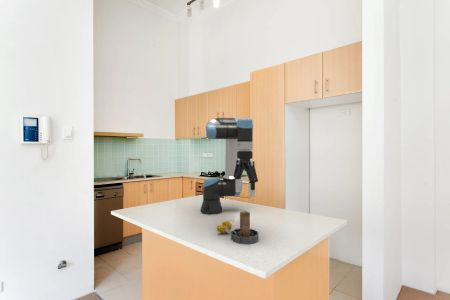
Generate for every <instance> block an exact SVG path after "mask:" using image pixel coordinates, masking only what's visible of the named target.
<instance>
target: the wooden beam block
mask: <svg viewBox="0 0 450 300" xmlns="http://www.w3.org/2000/svg"><path fill="white" fill-rule="evenodd" d="M250 214H251V213H250V212H249V211H247V210H243V211H239V229H240V233H242V237H250V229H251V220H250V219H251V218H250V217H251V215H250Z"/></svg>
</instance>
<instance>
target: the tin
mask: <svg viewBox="0 0 450 300" xmlns="http://www.w3.org/2000/svg"><path fill="white" fill-rule="evenodd" d="M233 231H235V232H236V233H237V236H236V234H235V232H233ZM259 234H260V233H259V231H258V230H256V229H253V228H250V237H242V233H240V228H235V229H232V230H231V234H230V240H231V241H232V243H236V244H240V245H252V244H256V243H258V242H259V240H260V239H259Z"/></svg>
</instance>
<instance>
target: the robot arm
mask: <svg viewBox="0 0 450 300" xmlns="http://www.w3.org/2000/svg"><path fill="white" fill-rule="evenodd" d="M205 128H206V129H205V130H206V133H205V134H206V135H205V136H206V139H208V140H209V139H210V140H224V141H225V155H224V156H225V163H224V164H225V166H224V167H225V168H224V169H225V171H224V172H225V174H224V175H223V177H222V179H221V178H220V177H218V176H217V177H209V178H205V179H204V180H203V181H202V185H203V186H202V203H201V207H200V213H201V214H205V215H218V214H222V213H223V207H222V203H221V197H238V196H240V195H241V193H242V189H243V180H242V175H243V173H244V172H246V176H247V178H248V197H249V198H254V197H256V196H255V195H256V194H255V193H256V192H255V191H256V183H258V182H259V179H258V174H257V172H256V165H255V161H254V160H252V159H253V157H254V156H253V155H254V154H253V148H254V146H253V145H254V143H253V141H254V140H253V136H254V134H253V133H254V132H253V131H254V123H253V119H252V118H245V117H244V118H237V117H215V118H212V119H210V120H208V121H207V123H206V125H205ZM251 160H252V161H251Z"/></svg>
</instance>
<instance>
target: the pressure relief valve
mask: <svg viewBox="0 0 450 300" xmlns="http://www.w3.org/2000/svg"><path fill="white" fill-rule="evenodd" d="M232 224H233V223H231V222H230V221H229V220H225V221H222V223H221V224H218V225H217V226H216V231H217V232H218V233H219V234H221V235H222V234H223V235H224V232H226V233H227V234H230V235H231V231H233V230H232V227H233V225H232ZM233 232H235V231H233ZM235 234H236V236H237V233H236V232H235Z"/></svg>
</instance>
